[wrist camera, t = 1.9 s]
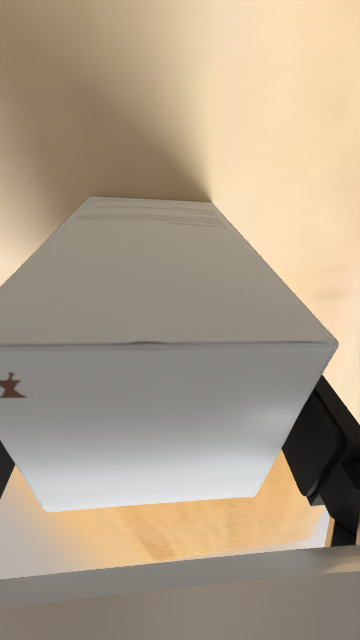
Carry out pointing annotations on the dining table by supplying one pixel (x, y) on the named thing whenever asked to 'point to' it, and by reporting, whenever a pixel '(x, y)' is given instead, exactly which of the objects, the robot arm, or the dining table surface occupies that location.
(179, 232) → the supplement box
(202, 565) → the robot arm
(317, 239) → the dining table surface
